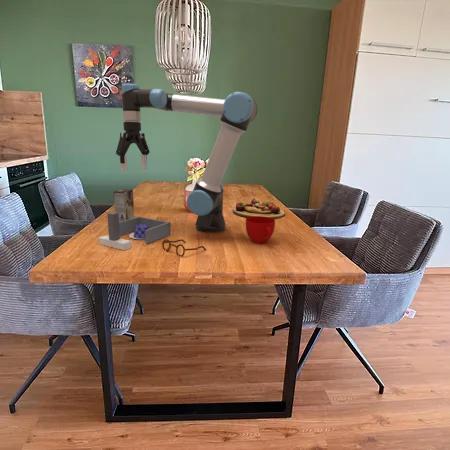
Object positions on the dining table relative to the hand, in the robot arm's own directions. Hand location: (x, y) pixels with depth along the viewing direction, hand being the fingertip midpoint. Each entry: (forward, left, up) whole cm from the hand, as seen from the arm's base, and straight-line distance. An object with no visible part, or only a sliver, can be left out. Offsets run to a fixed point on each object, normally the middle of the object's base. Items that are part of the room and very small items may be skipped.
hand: (134, 169), depth 148 cm
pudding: (-10, +7, -29) cm, 32 cm away
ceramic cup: (-59, -14, -29) cm, 67 cm away
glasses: (-36, +12, -29) cm, 48 cm away
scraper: (-10, +24, -29) cm, 38 cm away
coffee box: (+16, -8, -29) cm, 34 cm away
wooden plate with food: (-36, -67, -29) cm, 81 cm away
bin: (-10, +7, -28) cm, 31 cm away
